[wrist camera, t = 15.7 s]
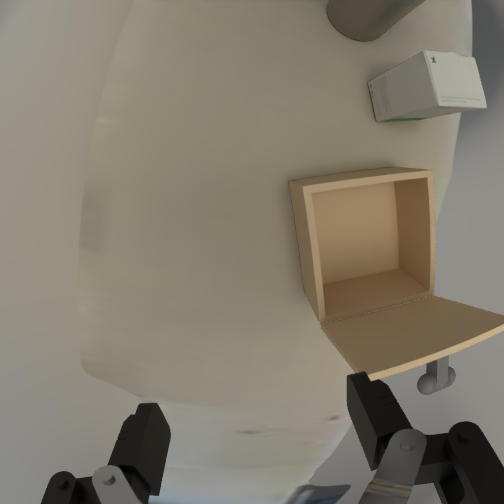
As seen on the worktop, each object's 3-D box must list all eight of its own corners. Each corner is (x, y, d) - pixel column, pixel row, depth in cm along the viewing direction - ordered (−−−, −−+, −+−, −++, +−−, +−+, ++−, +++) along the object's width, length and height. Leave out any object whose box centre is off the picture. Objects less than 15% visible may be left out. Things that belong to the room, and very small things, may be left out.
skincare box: (374, 122, 39) (435, 108, 24) (365, 79, 37) (420, 46, 22) (421, 120, 38) (489, 111, 23) (413, 79, 37) (476, 55, 22)
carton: (288, 180, 41) (302, 186, 31) (394, 166, 40) (431, 170, 31) (304, 290, 45) (319, 323, 36) (401, 270, 45) (433, 294, 35)
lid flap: (362, 376, 20) (365, 431, 20) (514, 318, 19) (510, 369, 20) (320, 324, 36) (325, 363, 36) (433, 295, 35) (435, 332, 35)
